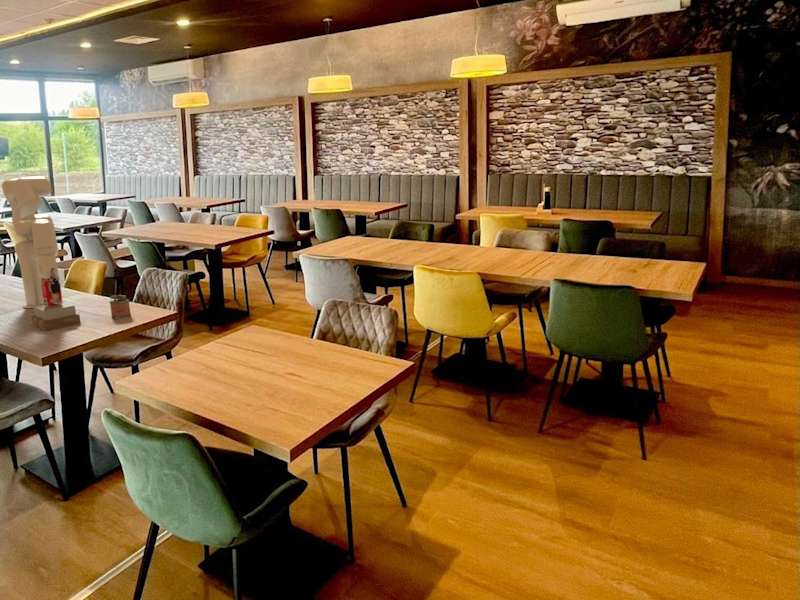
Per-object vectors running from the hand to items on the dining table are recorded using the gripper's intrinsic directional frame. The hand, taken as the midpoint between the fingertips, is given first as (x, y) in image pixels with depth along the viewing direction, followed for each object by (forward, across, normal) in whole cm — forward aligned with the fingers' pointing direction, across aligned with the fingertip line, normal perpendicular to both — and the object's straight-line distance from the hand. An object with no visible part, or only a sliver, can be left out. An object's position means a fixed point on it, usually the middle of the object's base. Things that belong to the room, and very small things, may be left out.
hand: (51, 291), depth 268 cm
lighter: (+15, +11, +23) cm, 30 cm away
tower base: (+15, 0, 0) cm, 15 cm away
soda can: (+7, 0, 0) cm, 7 cm away
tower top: (+11, 0, 0) cm, 11 cm away
